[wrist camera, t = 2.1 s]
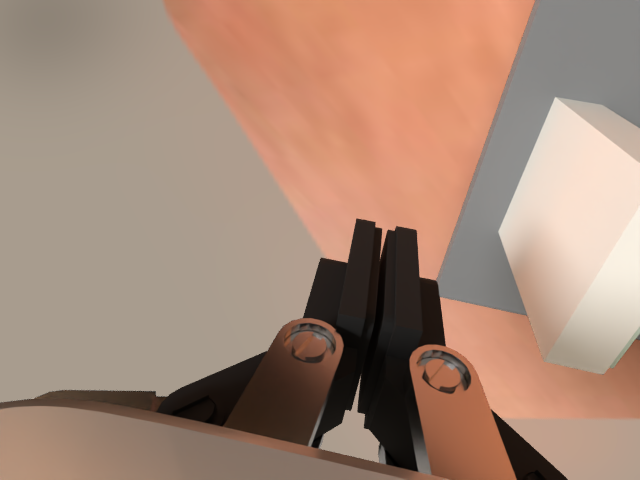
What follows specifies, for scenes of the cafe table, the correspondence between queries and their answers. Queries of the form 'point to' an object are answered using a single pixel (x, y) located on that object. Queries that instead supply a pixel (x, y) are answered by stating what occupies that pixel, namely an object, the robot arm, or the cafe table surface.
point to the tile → (579, 236)
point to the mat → (539, 129)
